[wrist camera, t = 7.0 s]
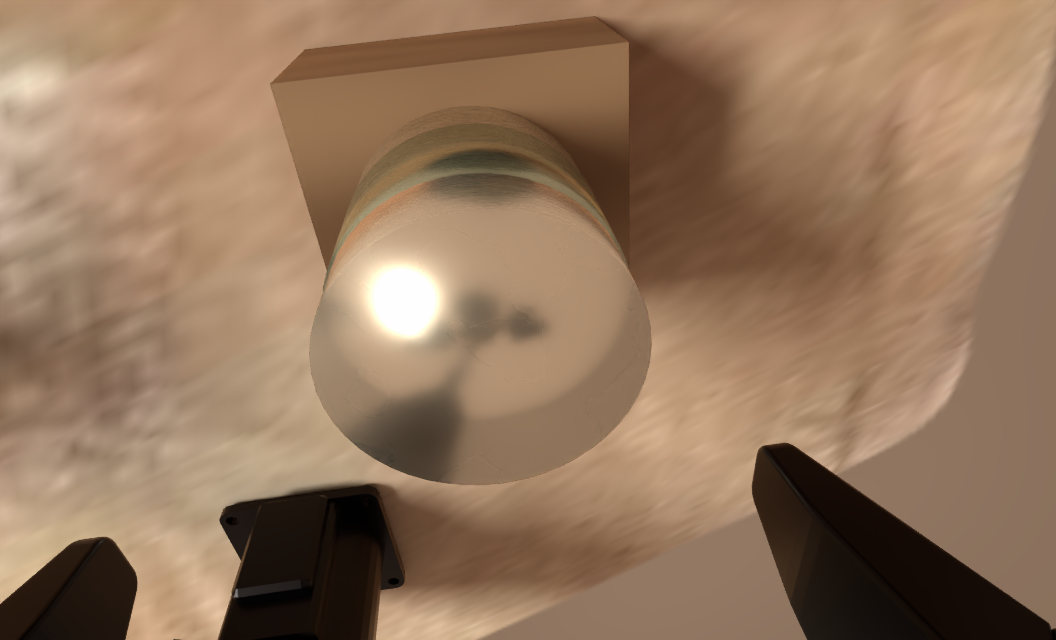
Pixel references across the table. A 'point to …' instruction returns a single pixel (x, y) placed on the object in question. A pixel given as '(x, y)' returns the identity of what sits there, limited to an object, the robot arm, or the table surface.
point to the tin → (477, 305)
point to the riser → (458, 104)
